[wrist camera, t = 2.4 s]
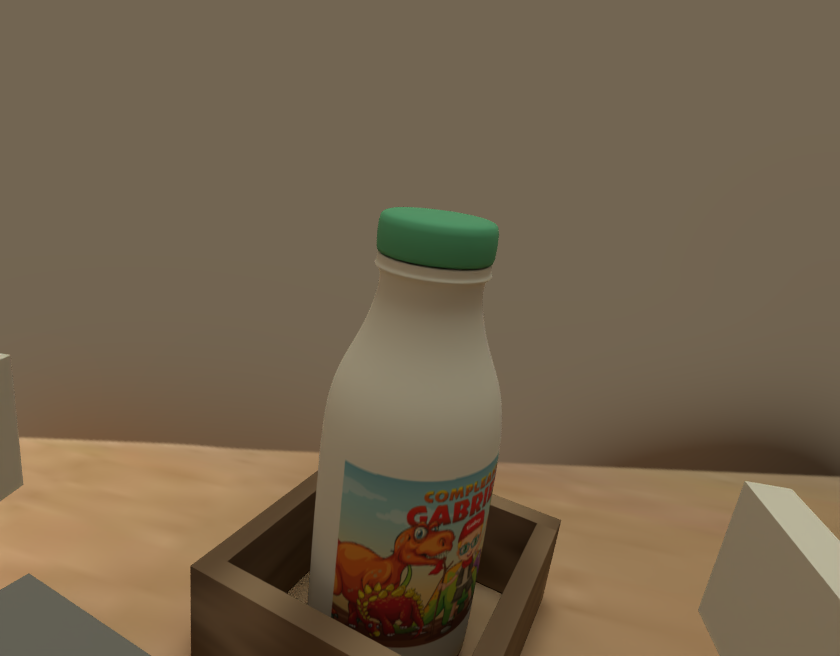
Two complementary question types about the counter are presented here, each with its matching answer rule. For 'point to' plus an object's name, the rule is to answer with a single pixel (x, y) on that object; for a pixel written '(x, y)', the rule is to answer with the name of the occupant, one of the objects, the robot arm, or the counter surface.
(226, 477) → the counter surface
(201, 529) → the counter surface
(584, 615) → the counter surface
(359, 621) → the milk bottle
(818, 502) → the counter surface
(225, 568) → the walnut caddy
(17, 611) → the slate tile
